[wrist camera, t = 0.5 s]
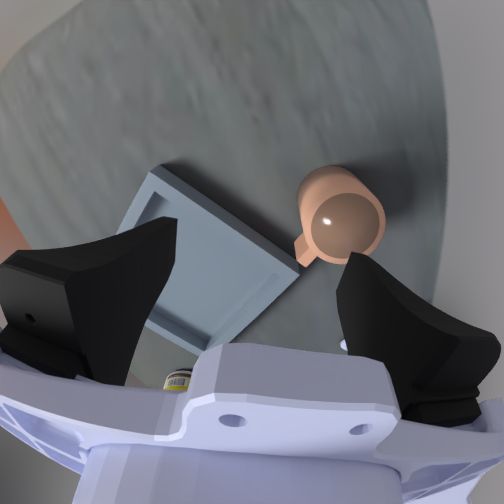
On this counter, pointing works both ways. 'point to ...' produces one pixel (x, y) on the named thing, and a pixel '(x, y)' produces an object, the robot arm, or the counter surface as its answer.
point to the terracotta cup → (337, 217)
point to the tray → (208, 266)
